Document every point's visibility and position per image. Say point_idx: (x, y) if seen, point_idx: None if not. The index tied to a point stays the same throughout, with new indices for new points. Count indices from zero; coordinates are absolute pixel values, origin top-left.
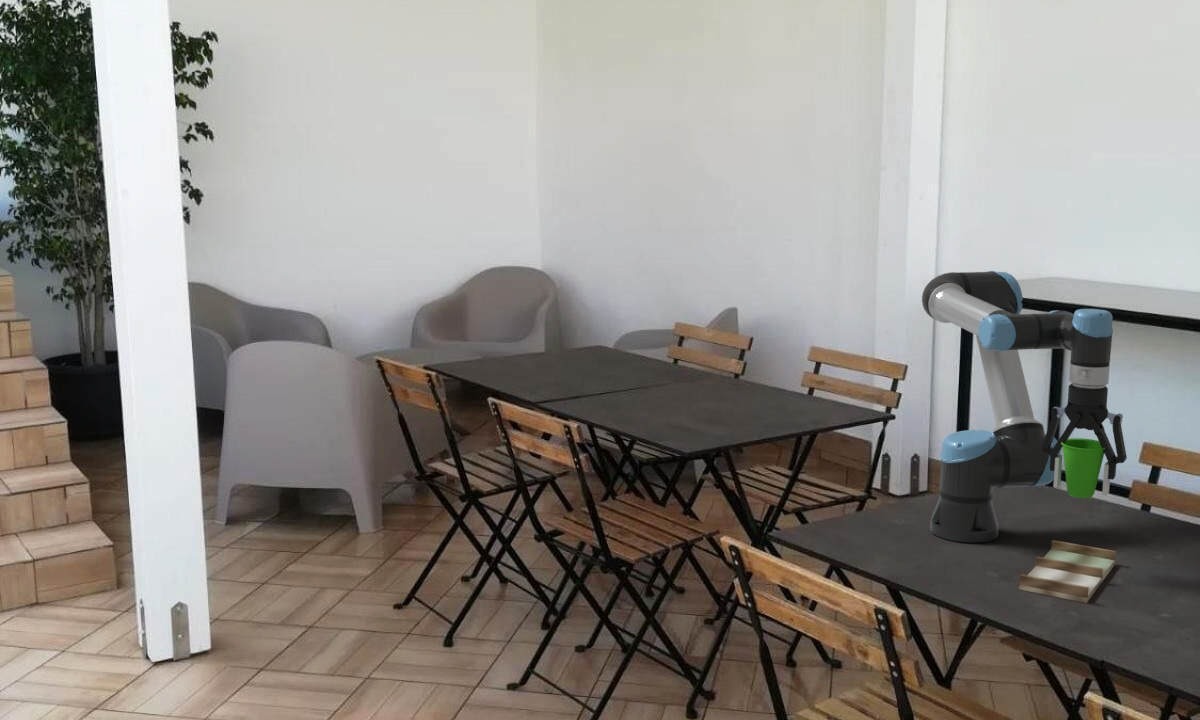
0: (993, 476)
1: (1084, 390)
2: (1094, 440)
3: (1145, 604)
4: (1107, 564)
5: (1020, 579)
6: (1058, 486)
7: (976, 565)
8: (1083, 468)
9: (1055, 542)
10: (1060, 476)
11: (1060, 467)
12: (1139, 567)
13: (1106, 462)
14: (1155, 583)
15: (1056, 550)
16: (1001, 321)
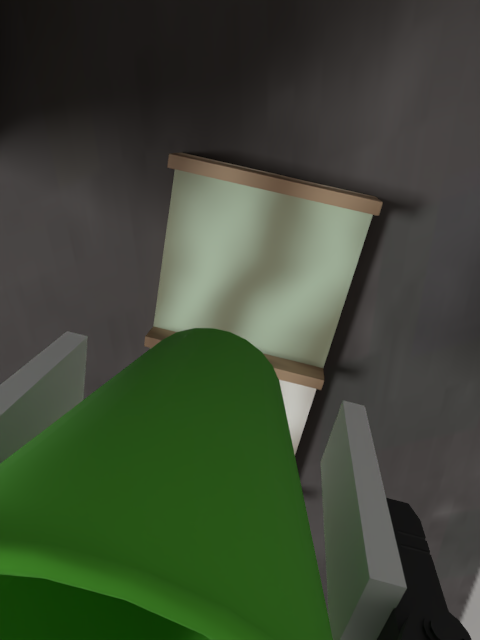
0: None
1: None
2: (185, 621)
3: (412, 468)
4: (347, 261)
5: None
6: (84, 374)
7: (18, 332)
8: (175, 630)
9: (180, 170)
10: (58, 372)
11: (17, 426)
12: (453, 194)
13: (357, 603)
14: (472, 324)
15: (192, 175)
16: None
